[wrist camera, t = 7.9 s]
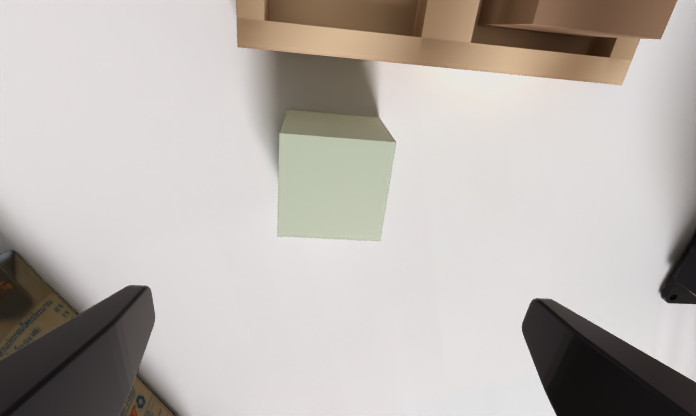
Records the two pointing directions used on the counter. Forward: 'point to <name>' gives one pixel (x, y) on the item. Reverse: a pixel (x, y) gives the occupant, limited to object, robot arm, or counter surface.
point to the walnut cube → (581, 17)
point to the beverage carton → (48, 323)
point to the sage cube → (333, 176)
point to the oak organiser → (428, 38)
